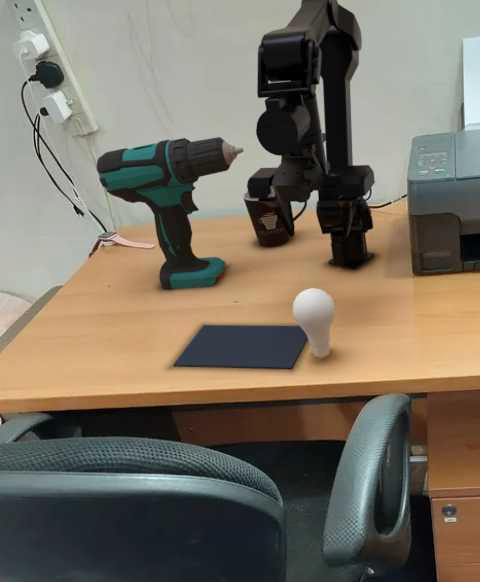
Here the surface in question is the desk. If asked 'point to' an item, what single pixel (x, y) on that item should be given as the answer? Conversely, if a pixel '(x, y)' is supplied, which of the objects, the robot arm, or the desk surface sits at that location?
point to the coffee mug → (267, 222)
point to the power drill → (170, 198)
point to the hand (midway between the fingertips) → (319, 236)
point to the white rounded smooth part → (315, 318)
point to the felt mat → (244, 347)
